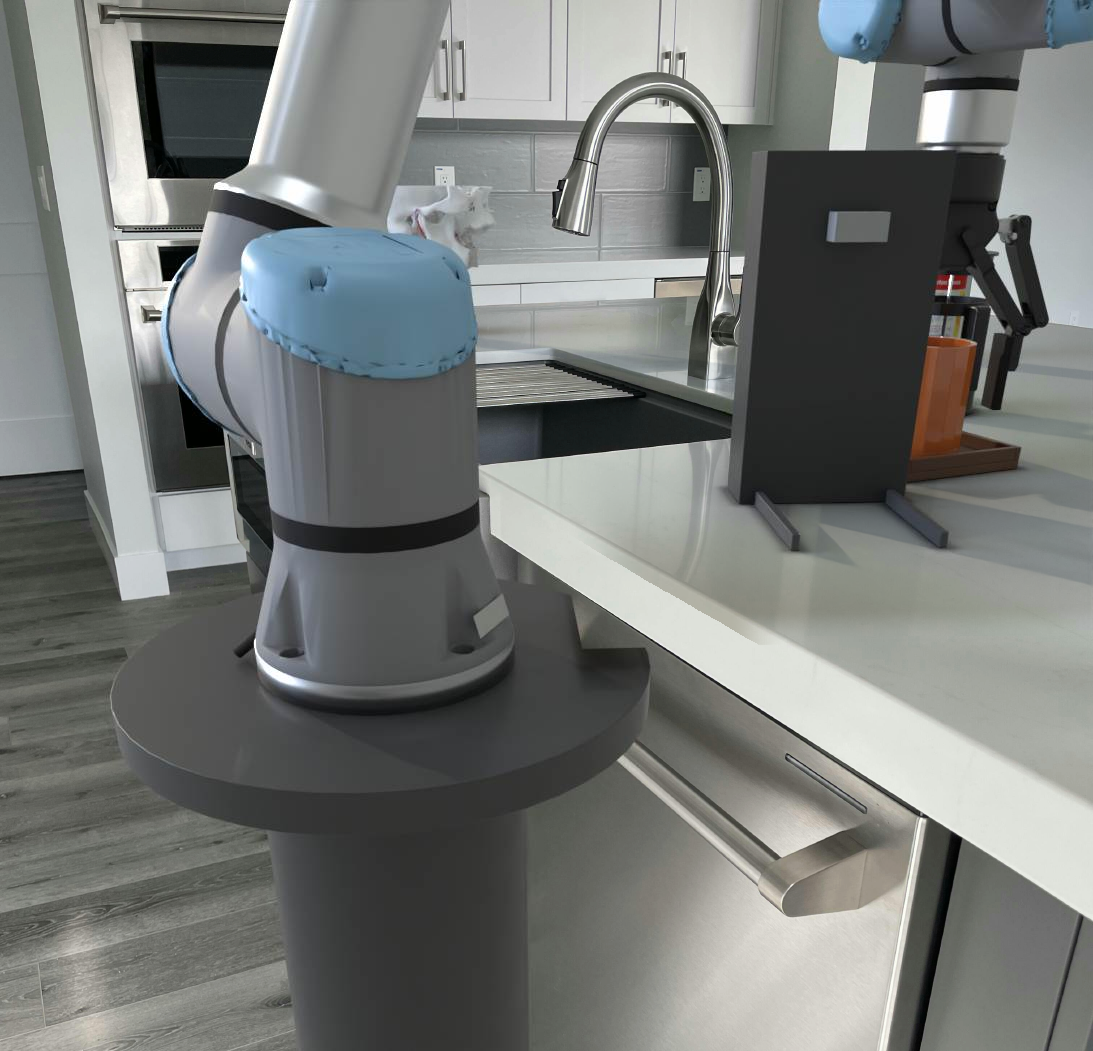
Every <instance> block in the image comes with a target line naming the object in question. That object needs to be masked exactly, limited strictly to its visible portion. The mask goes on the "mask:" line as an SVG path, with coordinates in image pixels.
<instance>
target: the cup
mask: <svg viewBox="0 0 1093 1051" xmlns="http://www.w3.org/2000/svg"><path fill="white" fill-rule="evenodd" d="M976 347H977V343H976V342H974V341H971V340H966V339H960V337H958V338H952V337H940V336H929V338H928V345H927V352H926V358H925V365H924V371H923V378H922V384H921V391H920V398H919V404H918V411H917V417H916V424H915V430H914V437H913V444H912V450H911V457H910V458H917V457H925V456H934V455H942V454H951V453H958V451H959V446H960V440H961V434H962V431H963V427H964V422H965V416H966V415H965V411H966V405H967V399H968V394H969V388H970V382H971V376H972V370H973V365H974V359H975V353H976Z"/></svg>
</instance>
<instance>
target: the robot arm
mask: <svg viewBox="0 0 1093 1051" xmlns="http://www.w3.org/2000/svg"><path fill="white" fill-rule="evenodd" d="M451 3H452V0H290V2H289V6H288V10H287V14H286V16H285V17H286V18H285V22H284V25H283V30H282V34H281V37H280V40H279V44H278V49H277V52H276V56H275V60H274V65H273V67H272V71H271V72H272V73H271V75H270V80H269V84H268V87H267V91H266V95H265V99H264V102H263V106H262V110H261V114H260V118H259V122H258V125H257V129H256V134H255V138H254V141H253V144H252V145H253V146H252V149H251V153H250V157H249V162H248V164H247V165H246V166H245V167H244V168H243V169H242V170H240V171H238V172H236V173H234V174H232V175H230V176H228V177H226V178H224V179H222V180H220V181H218V182H216V183H215V184H214V187H213V191H212V193H211V194H212V195H211V199H210V201H209V202H210V203H209V206H208V209H207V214H206V217H205V222H204V225H203V230H202V233H201V238H200V242H199V245H198V249H197V251H195V253H194V254H192V255H191V256H190V257H189V258H187V259H186V261H185V262H183V264H182V265H181V267H180V268H179V269H178V270H177V272H176V273H175V275H174V276H173V278H172V280H171V282H170V283H169V285H168V288H167V291H166V294H165V297H164V299H163V304H162V308H161V315H160V316H161V318H160V330H161V332H160V333H161V341H162V346H163V351H164V354H165V359H166V360H167V364H168V366H169V368H170V370H171V372H172V375H173V377H174V378H175V381H176V382H177V384H178V385H179V386H180V388H181V390H182V391H183V392H184V393H185V394H186V395H187V397H188V398H189V399H190V400H191V401H192V403H193V404H194V405H195V406H196V407H197V409H198V410H200V411H201V413H202V414H203V415H204V416H205V417H206V418H208V419H209V420H210V421H211V422H214V424H216V425H217V426H219V427H220V428H221V429H223V430H224V431H226V432H228V433H229V434H231V435H234V436H236V437H240V438H245V439H247V440H249V441H251V442H252V443H254V444H256V445H258V446H259V447H261V449H262V456H263V462H264V471H265V479H266V480H265V481H266V486H267V495H268V496H267V497H268V503H269V509H270V518H271V519H270V520H271V527H272V536H273V538H272V539H273V548H272V554H271V559H270V563H269V570H268V574H267V578H266V582H265V583H266V584H265V587H264V591H265V592H264V591H263V592H264V597H263V602H262V607H261V611H260V616H259V621H258V626H257V628H256V629H255V630H254V631H253V632H252V633H251V634H250V635H248V636H247V637H246V638H245V639H244V640H243V641H242V642H240V643H239V644H238V645H237V646H236V647H235V648H234V649H233V652H234V654H235V655H236V656H237V657H239V658H242V657H243V656H244V655H245V654H246V653H248V652H249V651H250V650H251V649H252V648H253V647H255V655H256V662H257V669H258V676H259V679H260V681H261V683H262V684H263V685H264V687H265V688H266V689H268V690H269V691H270V692H271V693H273V694H274V695H275V696H277V697H279V698H281V699H283V700H285V701H287V702H290V703H292V704H295V705H298V706H301V707H305V708H308V709H313V710H317V711H323V712H329V713H336V714H347V715H391V714H403V713H411V712H418V711H424V710H429V709H434V708H439V707H443V706H447V705H450V704H454V703H457V702H460V701H463V700H466V699H468V698H471V697H473V696H475V695H478V694H480V693H482V692H484V691H486V690H487V689H489V688H491V687H492V686H494V685H495V684H497V683H498V682H500V681H501V680H502V679H503V678H504V677H505V676H506V675H507V674H508V672H509V671H510V670H511V668H512V666H513V663H514V657H515V650H514V627H513V624H512V621H511V617H510V615H509V612H508V609H507V606H506V603H505V600H504V596H503V594H502V592H501V590H500V587H499V584H498V581H497V579H498V577H497V576H496V573H495V570H494V568H493V565H492V562H491V560H490V557H489V553H488V551H487V549H486V546H485V543H484V540H483V537H482V533H481V532H482V530H481V513H480V512H481V511H480V510H481V508H480V469H479V467H480V464H479V430H478V429H479V428H478V394H477V393H478V392H477V391H478V390H477V389H478V388H477V357H476V355H477V353H476V352H477V350H476V346H477V344H478V338H479V328H478V321H477V315H476V312H475V305H474V300H473V298H474V297H473V290H472V281H471V276H470V272H469V269H467V267H466V265H465V263H464V262H463V260H462V259H461V258H460V257H459V256H458V255H457V254H456V253H455V252H454V251H453V250H451V249H450V248H448V247H446V246H444V245H442V244H440V243H438V242H435V241H432V240H429V239H425V238H422V237H418V236H413V235H409V234H403V233H389V231H388V228H387V218H388V214H389V211H390V208H391V204H392V201H393V197H394V194H395V190H396V187H397V186H398V183H399V180H400V176H401V173H402V170H403V166H404V162H405V161H406V160H405V159H406V155H407V152H408V149H409V146H410V142H411V139H412V136H413V132H414V128H415V125H416V122H417V118H418V114H419V111H420V108H421V104H422V101H423V98H424V94H425V92H426V87H427V84H428V81H429V77H430V74H431V70H432V67H433V64H434V61H435V60H434V59H435V56H436V53H437V50H438V46H439V43H440V39H441V36H442V33H443V29H444V25H445V22H446V19H447V16H448V12H449V10H450V9H449V8H450V5H451ZM818 8H819V9H818V13H817V14H818V15H817V18H818V27H819V31H820V35H821V37H822V40H823V42H824V44H825V46H826V47H827V48H828V49H829V51H831V53H833V54H834V55H836V56H838V57H840V58H843V59H849V60H854V61H857V62H858V61H859V63H860V64H863V65H866V64H869V63H880V64H881V63H884V64H900V65H918V66H919V65H920V66H923V67H926V68H925V73H924V74H925V75H924V81H923V82H924V84H923V90H922V99H921V105H920V112H919V118H918V127H917V135H916V140H915V144H916V146H917V147H918V148H922V149H921V150H957V154H956V161H955V168H954V174H953V181H952V187H951V194H950V200H949V207H948V214H947V220H946V227H945V233H944V240H943V246H942V253H941V260H940V266H939V270H942V269H947V270H953V271H963V269H967V271H968V272H969V273H970V274H971V276H972V278H973V280H974V281H975V283H976V285H977V286H978V288H979V290H980V292H981V293H982V295H983V296H984V298H986V300H987V301H988V303H989V305H990V308H991V311H992V312H993V313H994V315H995V317H996V318H997V320H998V322H999V324H1000V325H1001V327H1002V328H1003V330H1004V333H1003V332H993V336H992V343H991V346H990V347H991V348H990V353H989V359H988V365H987V371H986V374H985V380H984V386H983V391H982V396H981V402H980V406H982V407H984V408H987V409H988V410H991V411H1001V410H1002V404H1003V400H1004V394H1005V389H1006V385H1007V381H1008V380H1007V379H1008V375H1009V372H1016V371H1017V369H1018V367H1019V364H1020V358H1021V354H1022V349H1023V348H1022V347H1023V343H1024V338H1025V337H1028V336H1029V335H1030V334H1031V333H1032V331H1033V330H1036V329H1039V328H1040V329H1042V328H1045V327H1047V325H1048V324H1049V322H1050V317H1049V312H1048V308H1047V305H1046V301H1045V297H1044V293H1043V289H1042V285H1041V281H1040V277H1039V272H1038V270H1037V265H1036V261H1035V258H1034V257H1035V256H1034V252H1033V249H1032V245H1031V237H1032V236H1031V234H1032V227H1033V226H1032V225H1033V219H1032V217H1031V216H1030V215H1028V214H1015V213H1014V214H1011V215H1009V216H1008V217H1001V218H998V214H997V210H998V209H997V208H998V205H999V201H1000V199H1001V198H1000V197H1001V192H1002V187H1003V182H1004V180H1003V179H1004V174H1005V170H1006V162H1007V159H1006V158H1005V155H1004V154H1001V151H1002V148H1006V147H1007V146H1009V145H1010V142H1011V136H1012V130H1013V125H1014V124H1013V123H1014V119H1015V113H1016V108H1017V100H1018V95H1019V87H1020V81H1021V80H1020V76H1021V71H1022V66H1023V61H1024V55H1025V52H1026V51H1027V50H1037V49H1049V48H1050V49H1051V50H1059V49H1061V48H1063V47H1065V46H1067V45H1074V44H1080V43H1086V42H1092V41H1093V0H819V3H818ZM997 234H998V236H999V241H1000V242H1002V243H1003V244H1004V249H1005V255H1006V257H1007V261H1008V265H1009V269H1010V273H1011V275H1012V281H1013V284H1014V288H1015V292H1016V295H1017V299H1018V303H1019V306H1020V308H1019V307H1018V305H1017V303H1016V302H1015V299H1014V298H1013V297H1012V295H1011V293H1010V292H1009V290H1008V288H1007V286H1006V285H1005V283H1004V281H1003V279H1002V277H1001V275H999V273H998V271H997V269H996V264H995V262H994V260H992V259H991V257H990V255H989V253H988V252H987V251H988V250H987V246H988V245H989V244H990V243H991V241H992V240H993V239H994V238H995V237H996V235H997Z"/></svg>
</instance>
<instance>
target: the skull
mask: <svg viewBox="0 0 1093 1051" xmlns="http://www.w3.org/2000/svg"><path fill="white" fill-rule="evenodd" d="M492 191H493V186H487V185H482V186H481V185H480V186H479V185H397V187H396V190H395V194H394V197H393V201H392V204H391V208H390V211H389V214H388V218H387V228H388V231H389V233H403V234H409V235H413V236H418V237H422V238H425V239H429V240H432V241H435V242H438V243H440V244H442V245H444V246H446V247H448V248H450V249H451V250H453V251H454V252H455V253H456V254H457V255H458V256H459V257H460V258H461V259H462V260H463V262H464V263H465V265H466V267H467V270H470V269H471V268H479V266H480V254H481V253H480V252H481V250H480V249H479V248H478V247H477V246H475V245H474V243H473V236H476V237H479V236H481V235H483V234H487V233H489V231H491V229H494V228H496V227H497V226H498V223H497V221H496V220H495V218H494V215H493V214H494V212H495V210H492V209H490V206H489V196H490V194H491V192H492Z"/></svg>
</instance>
